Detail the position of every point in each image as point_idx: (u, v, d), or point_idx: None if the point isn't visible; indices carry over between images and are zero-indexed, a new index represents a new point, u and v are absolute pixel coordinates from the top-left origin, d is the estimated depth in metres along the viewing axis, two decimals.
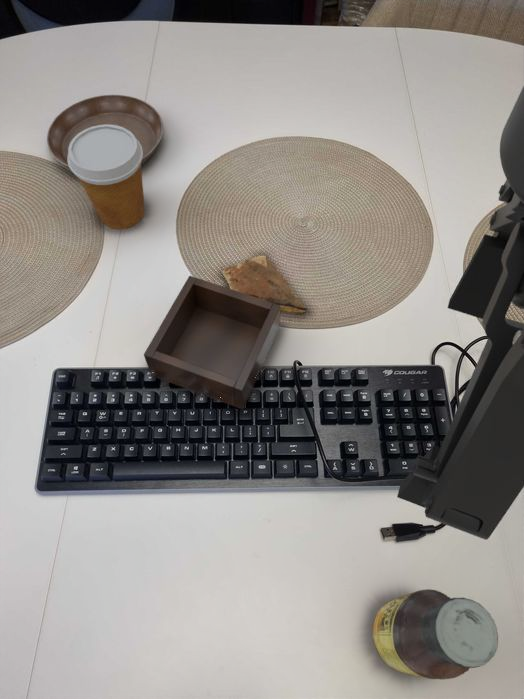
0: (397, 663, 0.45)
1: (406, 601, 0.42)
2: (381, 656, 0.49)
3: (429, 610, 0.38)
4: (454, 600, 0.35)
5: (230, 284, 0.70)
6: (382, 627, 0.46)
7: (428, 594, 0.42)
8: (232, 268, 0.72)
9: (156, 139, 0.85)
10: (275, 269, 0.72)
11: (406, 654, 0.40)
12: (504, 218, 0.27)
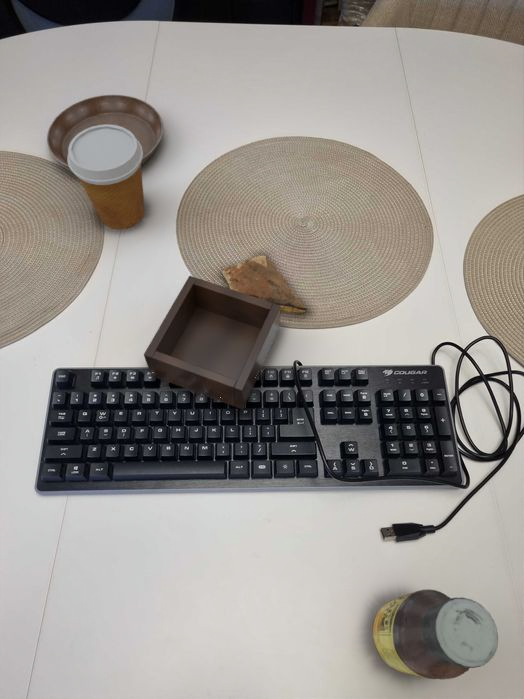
0: (397, 663, 0.45)
1: (406, 601, 0.42)
2: (381, 656, 0.49)
3: (429, 610, 0.38)
4: (454, 600, 0.35)
5: (230, 284, 0.70)
6: (382, 627, 0.46)
7: (428, 594, 0.42)
8: (232, 268, 0.72)
9: (156, 139, 0.85)
10: (275, 269, 0.72)
11: (406, 654, 0.40)
12: None
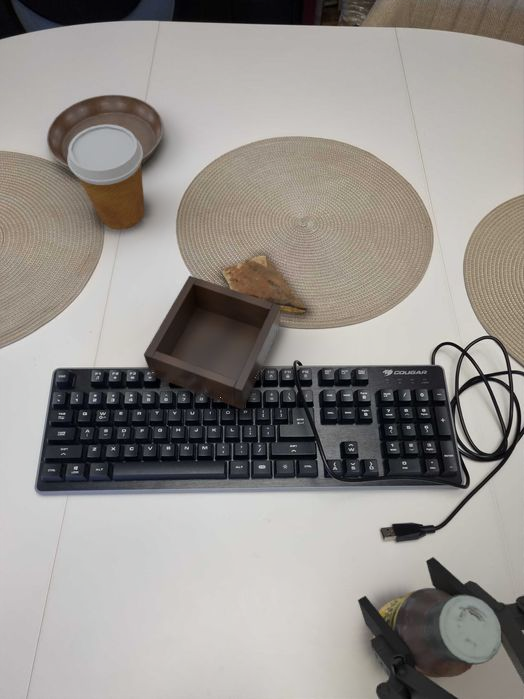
0: None
1: (408, 599, 0.42)
2: None
3: (432, 608, 0.39)
4: (457, 597, 0.36)
5: (230, 284, 0.70)
6: None
7: (430, 592, 0.42)
8: (232, 268, 0.72)
9: (156, 139, 0.85)
10: (275, 269, 0.72)
11: None
12: None
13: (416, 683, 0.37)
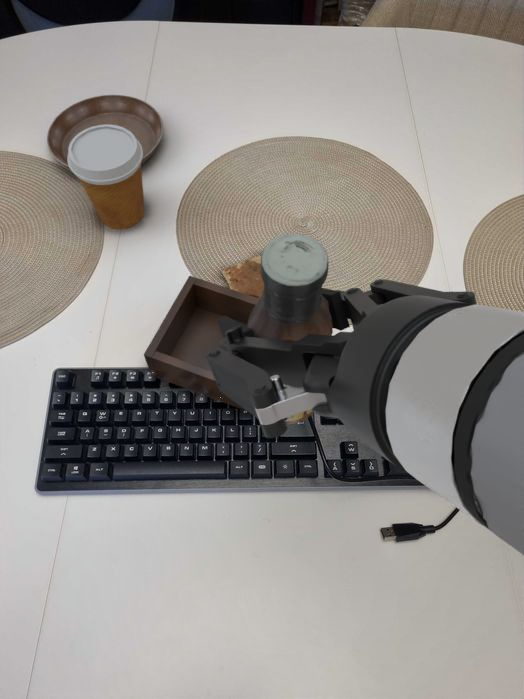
0: None
1: None
2: None
3: None
4: (285, 234, 0.33)
5: (230, 284, 0.70)
6: None
7: None
8: (232, 268, 0.72)
9: (156, 139, 0.85)
10: None
11: None
12: None
13: (247, 343, 0.34)
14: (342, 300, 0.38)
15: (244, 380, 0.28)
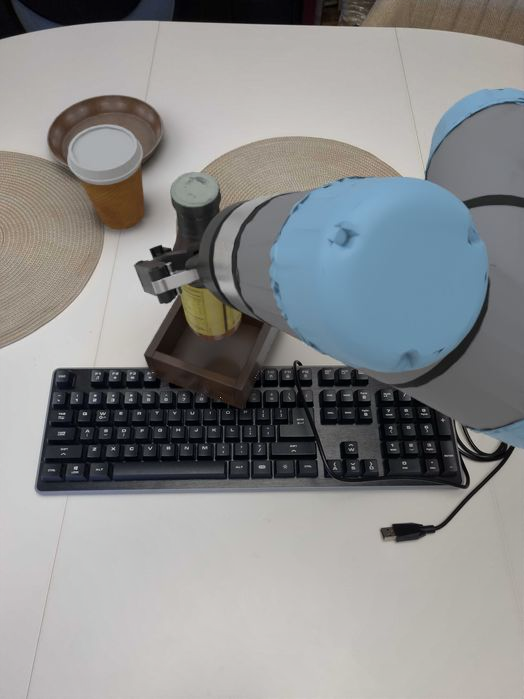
0: (185, 298, 0.53)
1: None
2: (189, 323, 0.58)
3: None
4: (190, 172, 0.44)
5: None
6: None
7: None
8: None
9: (156, 139, 0.85)
10: None
11: None
12: None
13: (164, 254, 0.46)
14: None
15: (149, 268, 0.40)
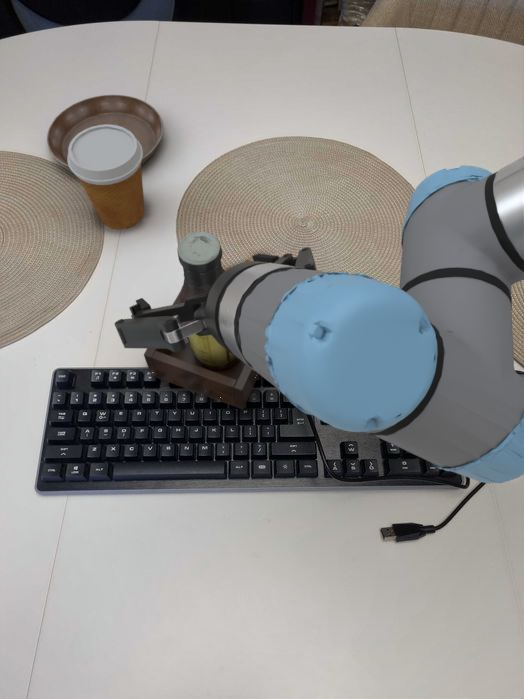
0: (191, 335, 0.59)
1: None
2: (195, 355, 0.64)
3: None
4: (194, 232, 0.50)
5: None
6: None
7: None
8: None
9: (156, 139, 0.85)
10: None
11: None
12: None
13: (148, 311, 0.49)
14: None
15: (154, 322, 0.44)
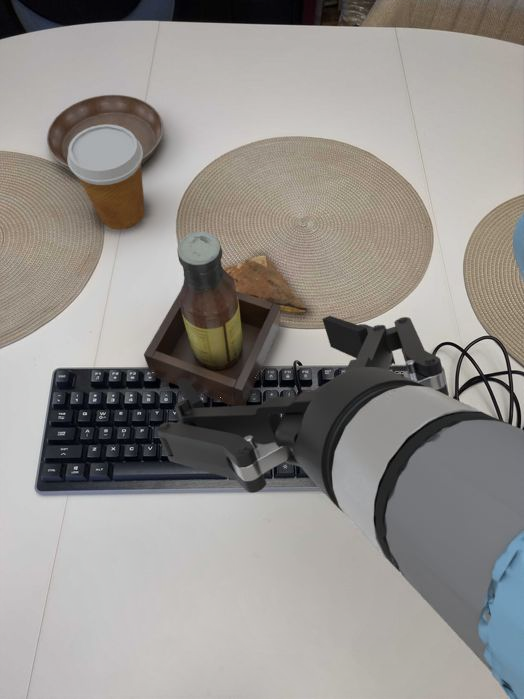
0: (191, 335, 0.59)
1: None
2: (195, 355, 0.64)
3: None
4: (194, 232, 0.50)
5: None
6: None
7: None
8: (232, 268, 0.72)
9: (156, 139, 0.85)
10: (275, 269, 0.72)
11: None
12: None
13: (201, 413, 0.36)
14: None
15: (217, 445, 0.31)
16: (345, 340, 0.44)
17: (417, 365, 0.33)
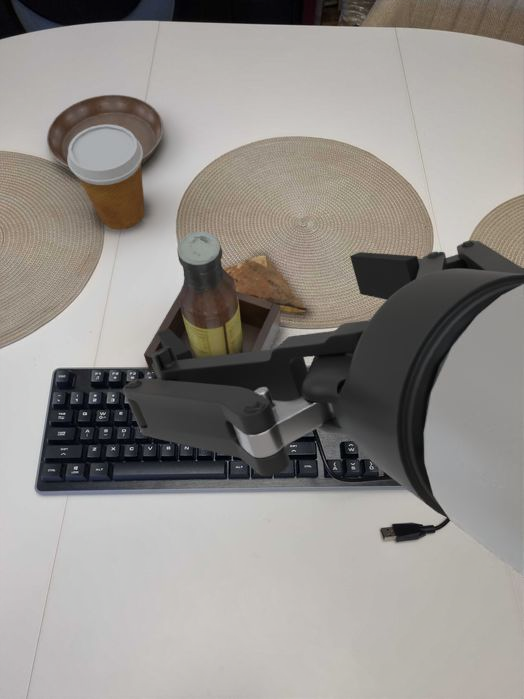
0: (191, 335, 0.59)
1: None
2: (195, 355, 0.64)
3: None
4: (194, 232, 0.50)
5: None
6: None
7: None
8: (232, 268, 0.72)
9: (156, 139, 0.85)
10: (275, 269, 0.72)
11: None
12: None
13: (189, 365, 0.25)
14: None
15: (212, 403, 0.20)
16: (384, 278, 0.33)
17: None
